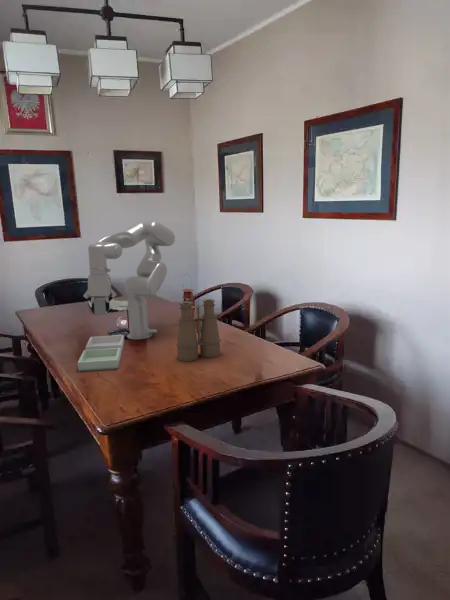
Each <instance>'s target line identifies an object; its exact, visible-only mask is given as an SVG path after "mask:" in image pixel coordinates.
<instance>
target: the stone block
mask: <svg viewBox="0 0 450 600" xmlns="http://www.w3.org/2000/svg"><path fill="white" fill-rule="evenodd" d="M94 311H95V314H94V315H95V316H104V315H105V316H106V315H107V314H108V313H107V312H108V311H106V299H105V297H95V299H94Z"/></svg>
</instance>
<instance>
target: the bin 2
mask: <svg viewBox="0 0 450 600" xmlns="http://www.w3.org/2000/svg"><path fill="white" fill-rule="evenodd" d="M121 357H122V352H121V348H108V349H92V350H86V349H83V351H82V353H81V355H80V356H79V359H78V361H77V371H78V372H79V373H80V371H82V372H91V371H106V370H107V371H108V370H118V369H119V366H120V361H121Z"/></svg>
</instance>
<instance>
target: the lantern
mask: <svg viewBox="0 0 450 600" xmlns="http://www.w3.org/2000/svg"><path fill="white" fill-rule="evenodd" d="M186 275H188V273H185V274H184V276H186ZM188 276H189V278H190V280H191V283H193V281H192V277H191V276H190V275H188ZM182 286H183V289H182V290H181V291H182V292H183V294H182V295H183V296H182V299H183V302H185V301H187V300H189V302H192V304H191V306H194V304H196V302H194V298H195V297H194V294H193V292H194V291H195V290H194V289H193V288H185V287H184V284H182ZM195 309H196V308H192V309H191V316H192V317H196V315H195V311H196V310H195ZM194 325H195V328H196V327H197V322H195V320H194Z"/></svg>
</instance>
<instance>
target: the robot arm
mask: <svg viewBox="0 0 450 600" xmlns="http://www.w3.org/2000/svg"><path fill="white" fill-rule="evenodd" d="M143 240H144V242H145V247H146V252H145V254H144V256H143V257H142V259H141V260H140V263H139V264H138V266H137V268H136V276H135V275H132V276H130V277H128V278H126V279H125V281H124V286H123V287H124V291H125V295H126V299H127V301H128V306H127V307H128V310H127V311H128V314H127V315H128V324H129V326H128V328H129V333H127V335H126V338H128V339H130V340H144V339H148V338H149V339H150V338H151V337H152V336H153V334H158V329H155V328H150V326H149V318H148V315H149V314H148V304H147V299H146V297H149V298H151V297H154V296H155V295H156V294H158V292H159V290H160V288H161V286H162V284H163V283H164V281H165V279H166V277H167V274H168V267H167V265H166V263H165V262H163V261H161V260H162V252H161V251H160V248H159V247H170V246H171V247H172V246H173V245H174V243H175V242H176V236H175V234H174V231H172V229H170V228H168V227H167V226H165V225H164V224H162V223H161V222H158V221H153V220H151V221H150V220H149V221H147V220H143V221H142V220H141V221H139V222H137V223H135V224H133V225H131V226H130V227H128V228H126V229H125V230H122V231H120V232H116V233H114V234H111V235H107V236H105V237H103V238H102V239H100V240H97V242H95V243H93V244H89V245H88V249H87V251H88V264H89V274H88V278H87V290H86V291H85V293H84V294H83V296H82V297H83V298H85V299H86V300H87V301H88V300H89V301H90V302H91V303H92V310H93V312H95V311H94V299H95V298H105V299H106V311H108V309H110V305H109V302H110V301H111V300H112V299H114V298H115V297H117V292H115V291H114V290H113V289H112V282H111V276H110V274H109V273H110V272H111V269H110V268H108V265H107V260H116V259H119V258H120V257H121V256H122V254H123V249H128V248H132V247H135V246H136V245H138V244H139V243H140V242H142V241H143ZM92 310H91V311H92ZM93 312H92V313H93Z"/></svg>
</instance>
